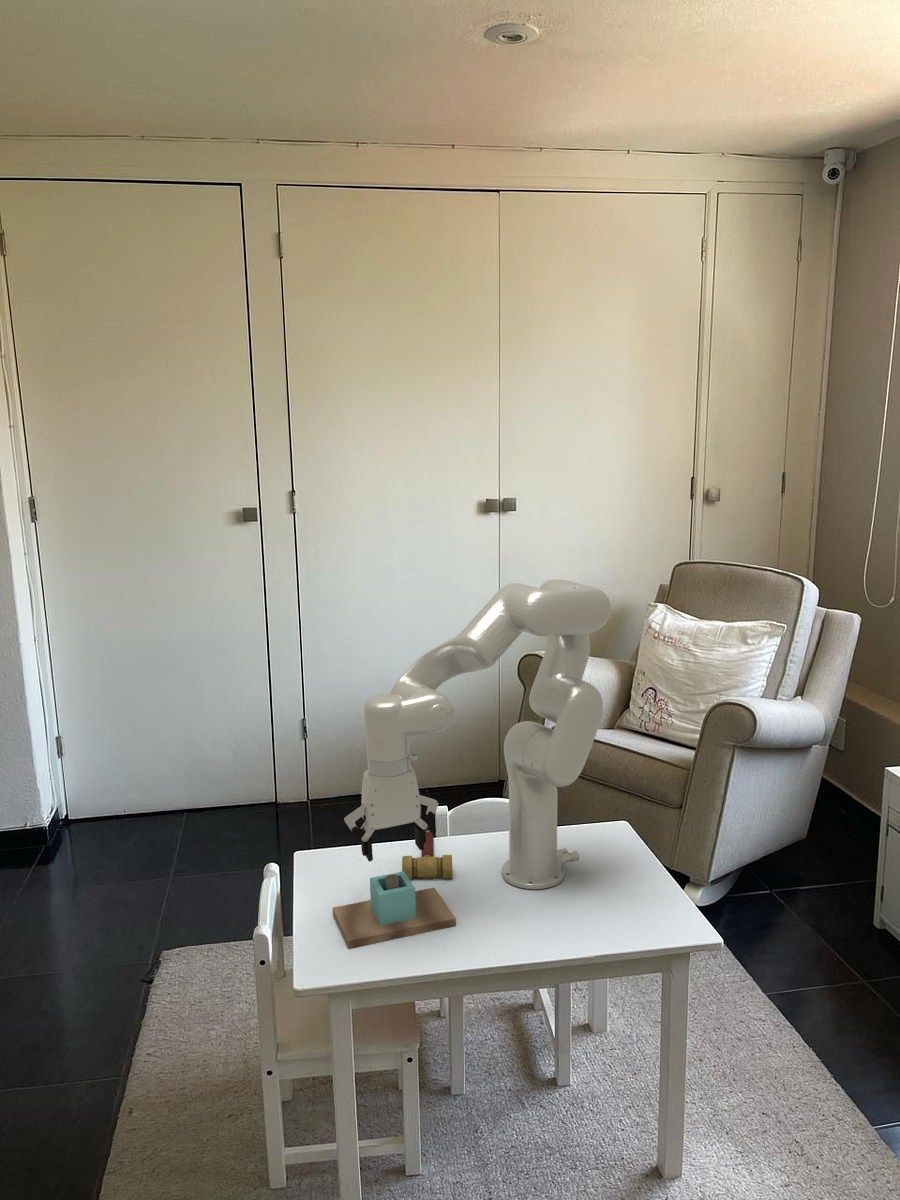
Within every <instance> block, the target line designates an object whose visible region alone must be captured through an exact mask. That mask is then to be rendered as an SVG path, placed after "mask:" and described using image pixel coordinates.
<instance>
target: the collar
mask: <svg viewBox="0 0 900 1200" xmlns="http://www.w3.org/2000/svg"><path fill="white" fill-rule="evenodd" d="M392 874H393V875H397V876H399V888H395V889H390V890H386V876H388V875H392ZM369 889H370V890H369V891H370V900H371V909H372V910H373V912H374V914H375V916H376V918H377V920H378V921H379V923H380V925H386V924H391V923H396V922H400V921H405V920H410V919H415V918H416V907H415V891H416V887H415V886H414V884H413V883H412V881H411V879H409V878H408V877H407V875H406V874H405V872H402V871H400V872H395V873H390V874H383V875H378V876H373V877H369Z"/></svg>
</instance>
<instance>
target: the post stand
mask: <svg viewBox="0 0 900 1200" xmlns="http://www.w3.org/2000/svg"><path fill="white" fill-rule="evenodd" d="M391 874H392V875H388V874H387V875H388V876H386V890H390V889H395V888H399V876H397V875H393V873H391ZM415 907H416V918H415V919H410V920H405V921H400V922H396V923H391V924H386V925H380V923H379V921H378V920H377V918H376V916H375V914H374V912H373V910H372V909H371V899H369V900H364V901H360V902H355V903H350V904H349V903H348V904H343V905H340V906H339V905H338V906H334V907H332V916H333V918H334V920H335V923H336V925H337V927H338V929H339V931H340V934H341V936H342V938H343V940H344V942H345V945H346V947H347V949H354V948H359V947H363V946H368V945H373V944H377V943H381V942H387V941H391V940H395V939H400V938H405V937H410V936H414V935H420V934H424V933H428V932H434V931H437V930H442V929H447V928H451V927H456V926H457V918H456V916H455V915H454V914H453V912H452V910H451V909H450V908H449V906H448V905H447V903H446V902H445V901H444V899H443V898H442V896H441V895H440V894H439V892H438V891H437V889H436V888H435V887H429V888H424V889H420V890H415Z"/></svg>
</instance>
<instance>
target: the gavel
mask: <svg viewBox="0 0 900 1200" xmlns="http://www.w3.org/2000/svg"><path fill="white" fill-rule="evenodd" d="M425 831H426V843H424V850H422V851H421V853H420V857H419V856H417V857H413V855H403V856H402V857H401V872H405V874H406V875H407V877H408V878H409V880H413V878H418V879H419V878H422V879H423V878H438V877H442V879H452V878H453V876H454V875H453V855H452V854H442V855H441V857H440V856H439V857H438V856H434V852H435V851H434V850H435V849H434V845H435V844H434V842H435V841H434V838H435V837H434V834H433V833H432V832H431V831H430V830H429V829H428V830H427V829H426V830H425Z"/></svg>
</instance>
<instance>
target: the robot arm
mask: <svg viewBox="0 0 900 1200" xmlns="http://www.w3.org/2000/svg"><path fill="white" fill-rule="evenodd" d="M611 611H612V605H611V601H610V599H609V596H608V595H607V594H606V593H605V592H604V591H603V590H602V589H599V588H598V587H595V586H591V585H586V584H581V583H578V582H574V581H571V580H565V579H559V578H555V579H554V578H553V579H548V580H546V581H544V582H543V583H541V585H540V587H535V586H531V585H528V584H524V583H517V582H516V583H509V584H505V585H504V586H503V587H501V588H500V589H499V590H498V591H497V592H496V593H495V594H494V595H493V597H492V598H491V599H490V600H488V602H487V603H486V604H485V605H484V606H483V607H482V609H480V611H479V612H477V614H476V615H475V616H474V618H472V620H470V622H469V623H468V624H467V625H466V626H465V627H464V629H463V630H461V631H460V632H459V633H458V635H456V636H455V637H452V638H451V639H448V640H446V641H445V642H443V643H441V644H439V645H438V646H436V647H434V648H433V649H430V650H429V651H427V652H426V653H424V654H423V655H421V656H419V657H418V659H416V660H415V661H414V662H413V663H412V664H411V665H410V666H409V667H408V668H407V669H406V670H405V671H404V673H403V674H401V676H400V677H399V678H398V680H397V681H396V682H395V684H393V687H392V688H391V691H390V693H383V694H377V695H373V696H371V697H369V698H367V700H366V701H365V702H364V707H363V711H364V724H365V726H364V728H365V739H366V740H365V742H366V754H367V755H366V758H367V770H364V771H363V775H362V784H361V805H360V806H359V807H357V808H356V809H354V811H352V812H350V813H349V814H347V815H346V816H345V817H344V818H343V819H344V822H345V824H346V825H347V827H348V828H349V830H350V831H351V832H352V834H353V835H355V836H357V837H358V839H360V845H361V847H360V848H361V853H362V856H363V857H366V860H367V861H368V863H369V862H372V861H373V860H374V857H373V856H374V855H373V841H372V839H371V837H372V835H373V833H374V832H375V830H377V831H378V830H382V829H387V828H392V827H397V826H402V825H407V824H411V823H414V825H413V827H414V844H415V845H416V846H417V848H418V849H419V851H421V852H422V850H424V843H426V831H427V829H428V827H429V826H428V825H429V824H430V822H431V821H432V820H433V819H434V817H435V813H436V811H437V809H438V807H439V802H438V801H437V800H436V799H434V798H431V797H428V796H424V795H421V794H420V790H419V785H418V780H417V776H416V772H415V768H414V767H413V765H412V764H413V762H415V761H418V759H419V758H418V754H417V752H410V736H413V735H430V734H436V733H439V732H442V731H443V730H444V729H446V728H447V727H449V726H450V724H451V723H452V721H453V719H454V715H455V710H454V705H453V703H452V702H451V700H450V699H449V698H448V697H447V696H446V695H444V694H443V693H441V692H439V691H437V689H439V687H440V686H442V685H443V684H444V683H445V682H447V681H449V680H451V679H452V678H455V677H456V676H459V675H462V674H467V673H468V674H469V673H473V672H479V671H482V670H483V671H484V670H486V669H489V668H491V667H493V666H494V665H495V664H496V662H498V661H499V660H500V658H501V657H502V656H503V655H504V654H505V653H506V651H507V650H508V649H509V648H510V647H511V646H512V644H513V643H514V642H515V641H516V640H517V639H518V638H519V637H520V635H522V634H523V633H526V634H529V635H530V634H531V635H533V636H538V637H547V642H546V648H545V651H544V653H543V657H542V660H541V661H540V665H539V668H538V671H537V673H536V676H535V678H534V681H533V684H532V687H531V690H530V693H529V697H528V702H529V706H530V709H531V710H532V711H533V713H535V714H536V715H538V716H539V717H541V718H544V719H546V720H548V721H550V722H552V723H554V724H555V725H554V728H550V727H549V726H546V725H544V724H542V723H540V722H539V723H538V722H536V721H528V720H526V721H524V720H523V721H520V722H517V723H516V724H514V725H513V726H511V728H510V729H509V730H508V731H507V734H506V735H505V738H504V742H503V754H504V756H503V757H504V761H505V766H506V767H505V768H506V771H507V777H508V778H507V780H508V781H507V782H508V838H509V839H508V852H509V853H508V854H509V855H508V857H509V859H508V860H506V861H505V862H504V863H503V864H502V866H501V876H502V878H503V879H504V881H506V882H507V883H508V884H511V885H512V886H514V887H516V888H522V889H527V890H542V889H548V888H553V887H554V886H556V885H559V884H560V883H561V882H562V881H563V880H564V878H565V874H566V872H565V867H564V865H566V863H572V862H573V863H574V862H579V861H580V854H579V851H577V850H575V851H569V852H568V849H567V848H560V849H558V788H565V787H567V786H569V785H571V784H572V783H574V782H575V781H576V780H577V779H578V778H579V776H580V774H581V773H582V771H583V769H584V767H585V765H586V762H587V760H588V758H589V754H590V752H591V748H592V746H593V744H594V741H595V738H596V737H597V732H598V730H599V727H600V725H601V721H602V719H603V713H604V701H603V698H602V694H601V692H600V690H598V688H597V687H596V686H595V685H593V684H591V683H589V682H588V681H585V680H583V677H584V675H585V671H586V668H587V664H588V661H589V658H590V651H591V642H590V635H589V633H594V632H596V631H599V630H600V629H601V628H603V627H604V626H605V625H606V624H607V622H608V621H609V619H610V615H611V613H612V612H611ZM421 805H423V806H426V807H427V808H426V810H425V811H424V813H423V814H422V806H421ZM360 818H362V820H363V821H364V822H363V824H362V825H361V827H359V826H358V825H357V824H356V821H358V820H360Z"/></svg>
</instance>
